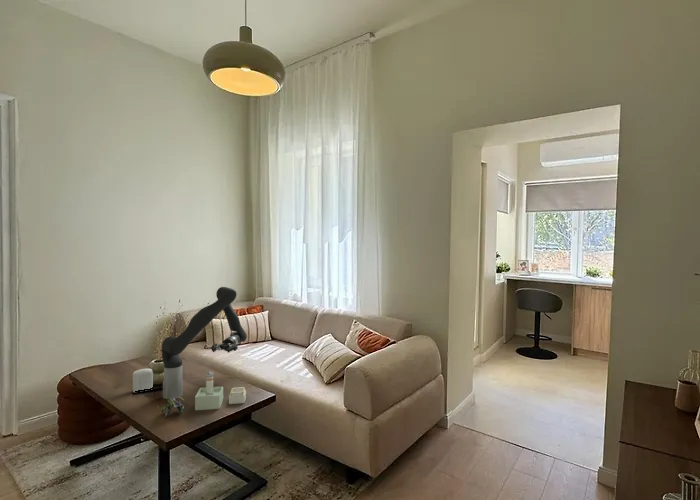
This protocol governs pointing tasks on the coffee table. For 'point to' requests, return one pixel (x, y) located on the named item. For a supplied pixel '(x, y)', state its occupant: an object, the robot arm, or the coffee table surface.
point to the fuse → (209, 383)
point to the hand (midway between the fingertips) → (220, 350)
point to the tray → (209, 399)
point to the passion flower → (173, 403)
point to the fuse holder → (237, 395)
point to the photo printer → (142, 379)
